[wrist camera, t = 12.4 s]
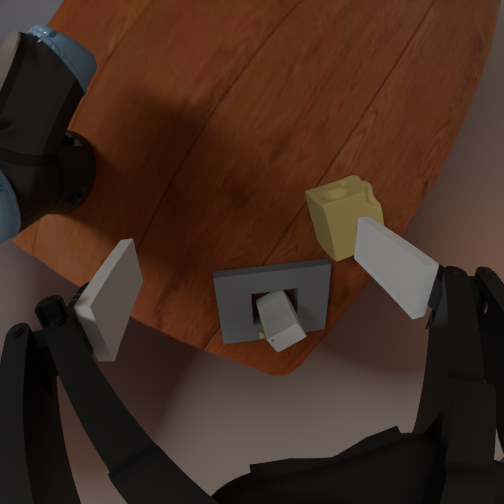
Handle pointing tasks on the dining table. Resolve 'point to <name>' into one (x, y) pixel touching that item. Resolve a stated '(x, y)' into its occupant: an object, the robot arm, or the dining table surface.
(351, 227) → the cheese
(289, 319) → the skincare box
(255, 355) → the dining table surface
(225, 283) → the grey frame plate
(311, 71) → the dining table surface
